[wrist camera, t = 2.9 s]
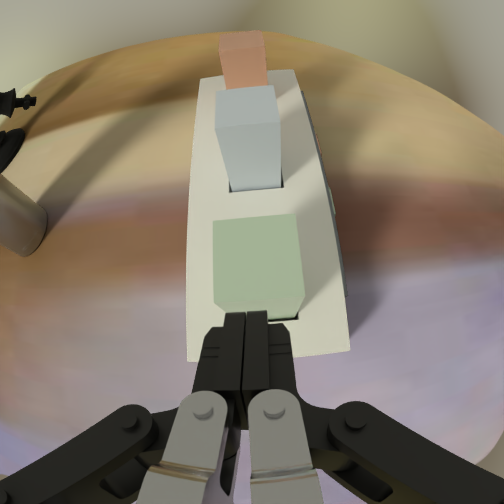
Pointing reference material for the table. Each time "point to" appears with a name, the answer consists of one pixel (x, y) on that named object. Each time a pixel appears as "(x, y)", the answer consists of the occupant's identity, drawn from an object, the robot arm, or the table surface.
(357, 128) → the table surface
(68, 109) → the table surface
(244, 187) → the key grey
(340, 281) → the white flat bar
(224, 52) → the key terracotta
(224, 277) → the key sage
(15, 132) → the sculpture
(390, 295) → the table surface
